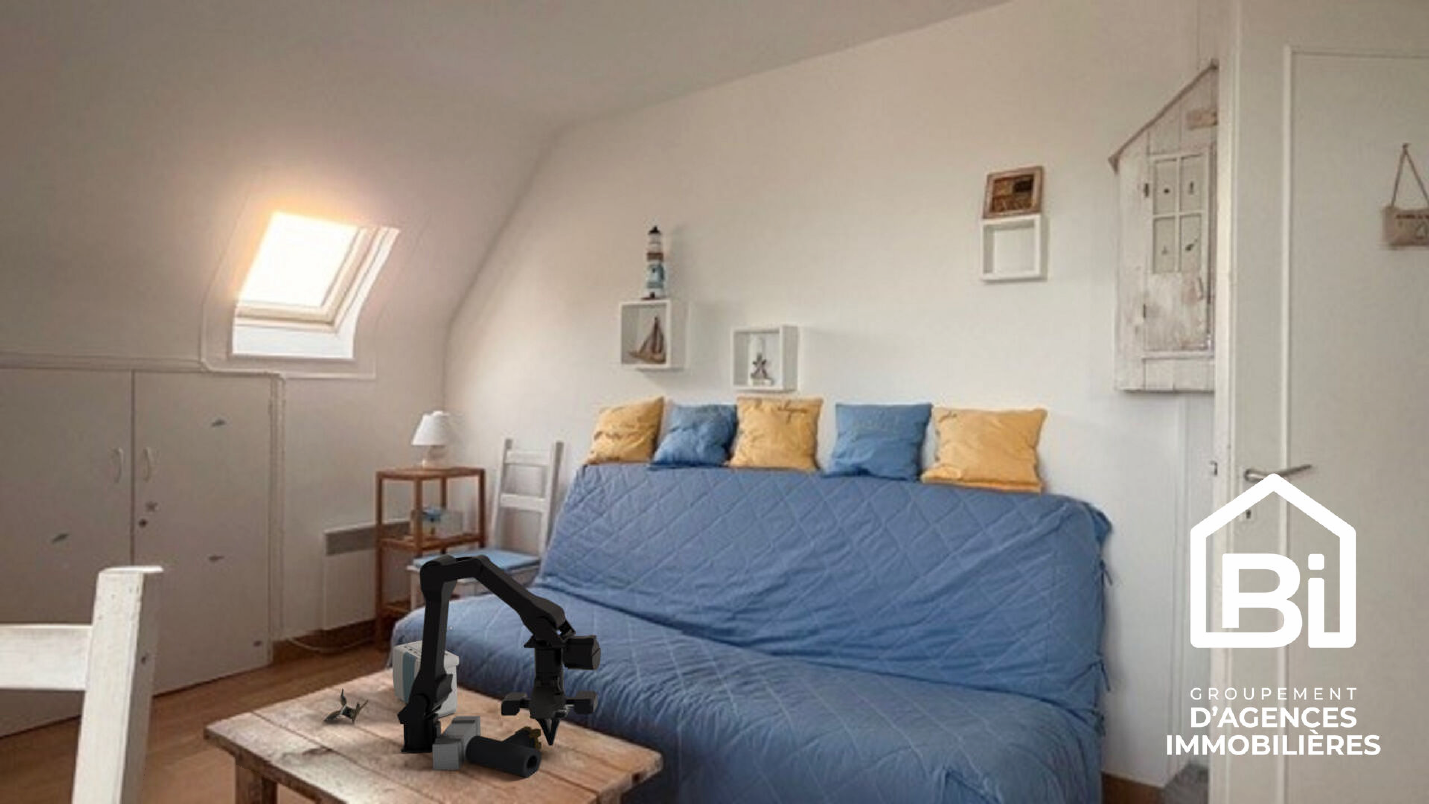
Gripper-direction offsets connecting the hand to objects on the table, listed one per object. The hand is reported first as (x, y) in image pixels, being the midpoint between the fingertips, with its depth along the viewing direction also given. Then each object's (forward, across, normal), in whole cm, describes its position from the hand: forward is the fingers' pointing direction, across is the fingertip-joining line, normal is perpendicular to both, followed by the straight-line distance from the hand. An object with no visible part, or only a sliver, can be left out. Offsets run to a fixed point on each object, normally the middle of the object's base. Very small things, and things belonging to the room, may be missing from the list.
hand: (551, 745), depth 163 cm
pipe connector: (+2, -7, -3) cm, 8 cm away
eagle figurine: (+2, -51, +18) cm, 55 cm away
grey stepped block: (+2, -19, 0) cm, 19 cm away
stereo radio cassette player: (+2, -35, +26) cm, 44 cm away
